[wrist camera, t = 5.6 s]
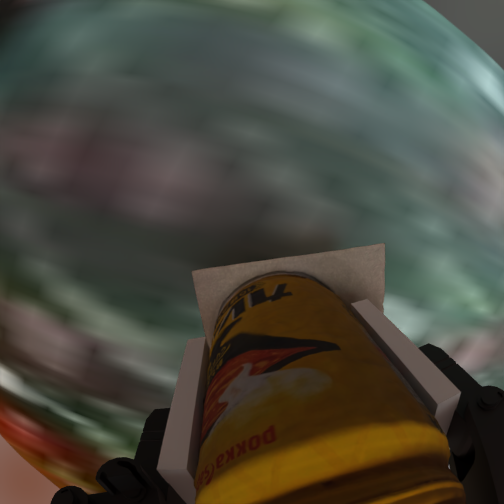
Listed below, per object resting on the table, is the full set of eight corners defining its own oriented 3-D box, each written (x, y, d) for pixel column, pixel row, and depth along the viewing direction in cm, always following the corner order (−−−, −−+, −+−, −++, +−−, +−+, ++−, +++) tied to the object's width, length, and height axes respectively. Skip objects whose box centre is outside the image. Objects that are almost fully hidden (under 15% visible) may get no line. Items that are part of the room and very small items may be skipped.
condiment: (192, 269, 12) (71, 595, 1) (383, 242, 13) (626, 386, 1) (222, 401, 14) (220, 625, 2) (377, 372, 14) (487, 547, 3)
